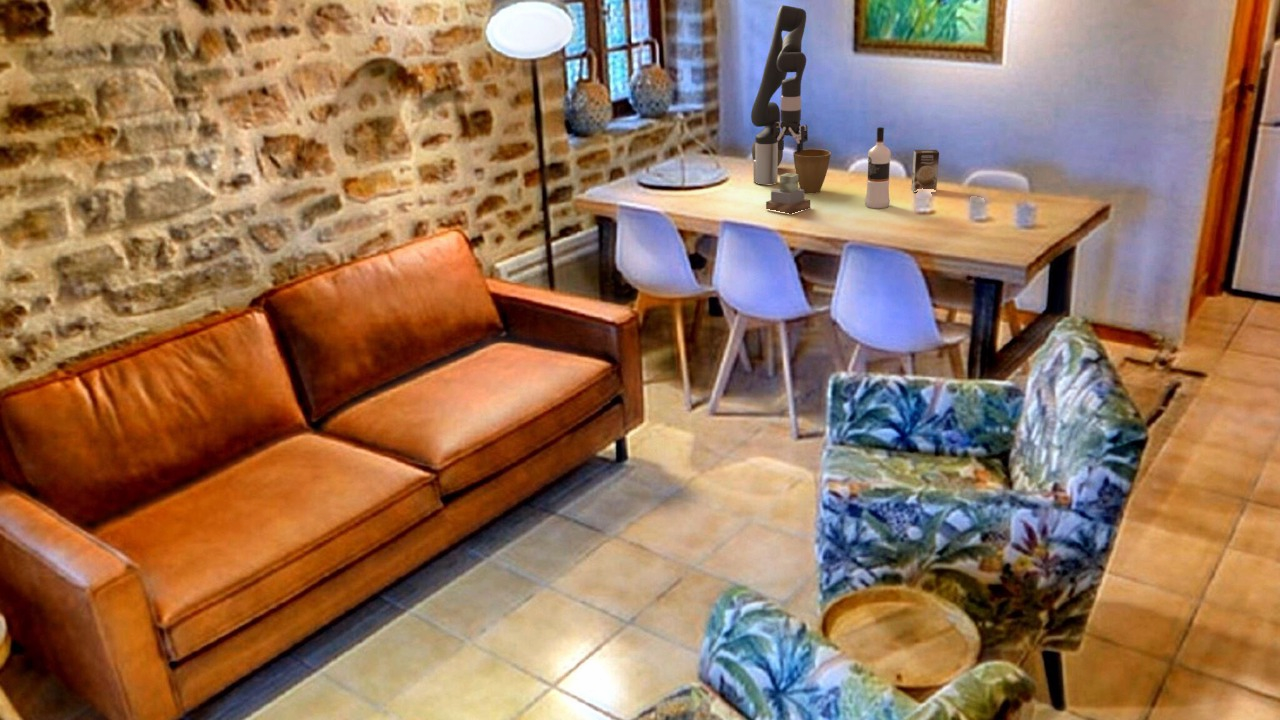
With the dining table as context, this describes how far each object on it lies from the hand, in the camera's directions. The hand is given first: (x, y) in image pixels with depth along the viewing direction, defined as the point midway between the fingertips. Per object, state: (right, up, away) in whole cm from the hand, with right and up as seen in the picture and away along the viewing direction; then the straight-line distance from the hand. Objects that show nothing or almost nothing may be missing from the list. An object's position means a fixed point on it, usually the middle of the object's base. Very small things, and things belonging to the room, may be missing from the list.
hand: (790, 151), depth 401 cm
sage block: (0, -14, +6) cm, 15 cm away
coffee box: (+57, -11, +25) cm, 63 cm away
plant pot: (+13, -10, +33) cm, 37 cm away
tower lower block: (+1, -21, +9) cm, 23 cm away
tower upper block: (0, -17, +7) cm, 19 cm away
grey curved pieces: (0, +6, +71) cm, 72 cm away
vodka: (+34, -20, +7) cm, 40 cm away
